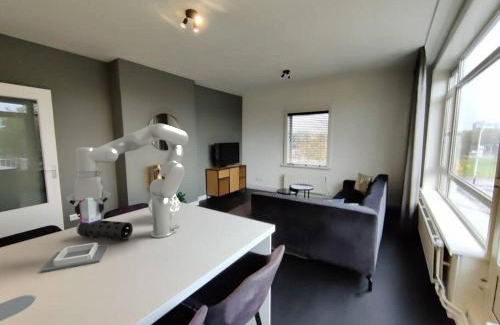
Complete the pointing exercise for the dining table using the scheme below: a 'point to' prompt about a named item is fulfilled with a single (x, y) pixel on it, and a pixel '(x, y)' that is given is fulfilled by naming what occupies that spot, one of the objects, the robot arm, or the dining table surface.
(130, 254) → the dining table surface
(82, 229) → the muzzle brake
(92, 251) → the socket plate
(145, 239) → the dining table surface
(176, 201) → the decorative ball
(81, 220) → the supplement box
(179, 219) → the dining table surface
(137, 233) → the dining table surface
